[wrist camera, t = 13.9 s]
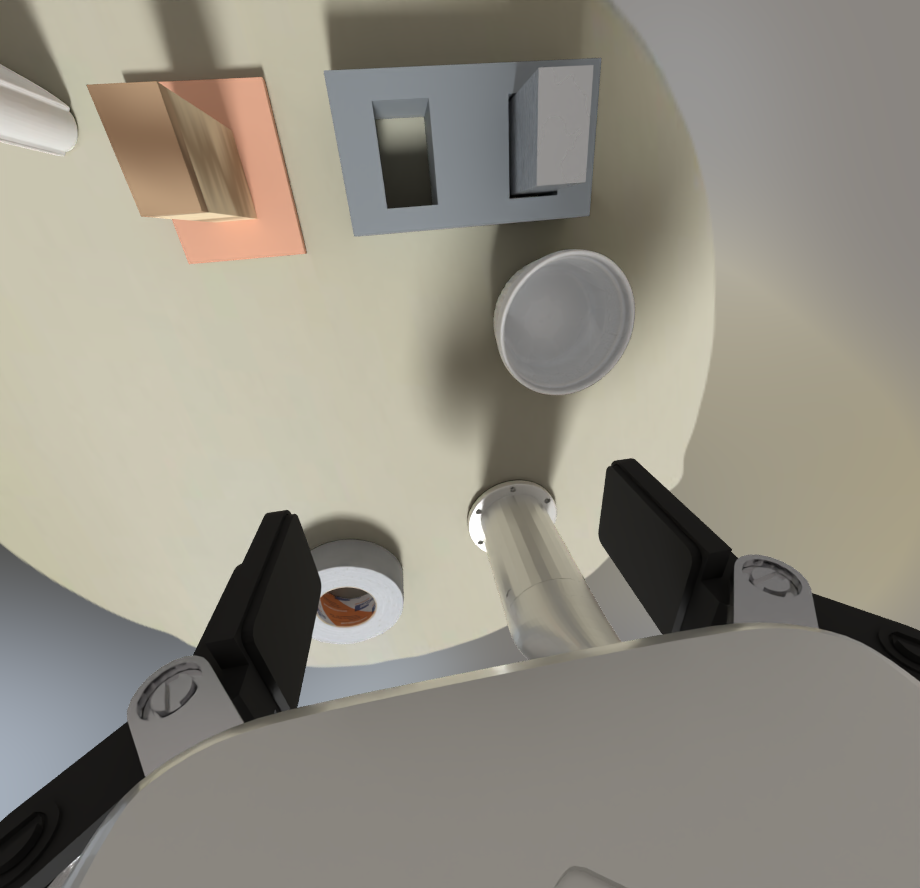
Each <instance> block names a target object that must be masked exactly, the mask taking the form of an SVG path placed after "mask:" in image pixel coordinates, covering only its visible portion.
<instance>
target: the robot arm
mask: <svg viewBox="0 0 920 888" xmlns="http://www.w3.org/2000/svg"><path fill="white" fill-rule="evenodd" d="M556 517H557V508H556V505H555V502H554V500H553V498H552V496H551V495H550V494H549V492H548V491H547V490H546V489H544V488H543V487H542V486H540V485H538V484H536V483H533V482H529V481H521V480H516V481H508V482H505V483H501V484H498V485H496V486H494V487H492V488H490V489H489V490H487V491H486V492H484V493H483V494H482V495H481V496H480V497H479V498H478V499H477V500H476V501H475V503H474V504H473V506H472V508H471V510H470V512H469V516H468V529H469V533H470V536H471V539H472V540H473V542H474V543H475V544H476V545H477V546H478V547H479V548H480V549H482V550H484V551H485V552H487V555H488V559H489V562H490V566H491V569H492V572H493V576H494V579H495V583H496V586H497V590H498V593H499V596H500V600H501V603H502V607H503V610H504V613H505V617H506V620H507V624H508V627H509V630H510V634H511V636H512V639H513V641H514V642H515V644H516V646H517V647H518V649H519V650H520V651H521V653H522V654H523V655H524V656H525V657H526V658H527V659H528V660H527V661H522V662H517V663H513V664H507V665H502V666H497V667H492V668H487V669H482V670H477V671H472V672H467V673H462V674H456V675H452V676H447V677H442V678H437V679H432V680H427V681H422V682H417V683H412V684H407V685H402V686H398V687H393V688H388V689H383V690H378V691H373V692H368V693H363V694H358V695H354V696H349V697H344V698H340V699H335V700H331V701H326V702H322V703H317V704H313V705H308V706H303V707H299V708H297V706H298V702H299V696H300V692H301V687H302V682H303V677H304V673H305V668H306V663H307V658H308V653H309V649H310V644H311V639H312V634H313V629H314V624H315V620H316V615H317V610H318V605H319V600H320V595H321V579H320V576H319V574H318V571H317V568H316V565H315V562H314V560H313V557H312V554H311V551H310V549H309V546H308V543H307V540H306V537H305V535H304V532H303V529H302V526H301V523H300V521H299V518H298V516H297V515H296V514H291V513H290V511H288V510H284V511H277V512H271V513H267V514H265V516H264V518H263V520H262V522H261V524H260V526H259V528H258V531H257V533H256V535H255V537H254V539H253V541H252V543H251V546H250V548H249V550H248V552H247V554H246V556H245V558H244V561H243V563H242V564H240V565H238V566H237V567H236V568H235V570H234V571H233V574H232V576H231V578H230V580H229V582H228V584H227V586H226V588H225V590H224V592H223V594H222V596H221V598H220V600H219V603H218V605H217V607H216V609H215V611H214V613H213V615H212V617H211V619H210V621H209V623H208V625H207V627H206V630H205V632H204V634H203V636H202V638H201V640H200V642H199V644H198V646H197V648H196V650H195V652H194V654H193V656H185V657H182V658H179V659H176V660H174V661H171V662H170V663H168V664H167V665H164V666H163V667H161V668H160V669H158V670H157V671H156V672H154V673H153V674H152V675H151V676H149V677H148V678H147V679H146V681H145V682H144V683H143V684H142V685H141V686H140V687H139V688H138V690H137V691H136V693H135V694H134V696H133V697H132V699H131V702H130V704H129V707H128V710H127V720H128V722H126V723H125V724H124V725H123V726H121V727H120V728H119V729H117V730H116V731H115V732H113V733H112V734H111V735H110V736H108V737H107V738H106V739H105V740H103V741H102V742H101V743H99V744H98V745H97V746H96V747H94V748H93V749H92V750H90V751H89V752H88V753H87V754H85V755H84V756H83V757H81V758H80V759H79V760H78V761H76V762H75V763H74V764H73V765H71V766H70V767H69V768H67V769H66V770H65V771H63V772H62V773H61V774H60V775H58V776H57V777H56V778H55V779H53V780H52V781H51V782H50V783H48V784H47V785H46V786H44V787H43V788H42V789H40V790H39V791H38V792H37V793H35V794H34V795H33V796H32V797H30V798H29V799H28V800H26V801H25V802H24V803H22V804H21V805H20V806H19V807H17V808H16V809H15V810H14V811H12V812H11V813H10V814H9V815H8V816H7V817H5V818H4V819H3V820H2V821H1V822H0V888H920V631H919V630H917V629H914V628H912V627H909V626H906V625H904V624H901V623H898V622H895V621H892V620H889V619H886V618H883V617H881V616H878V615H875V614H872V613H868V612H866V611H863V610H860V609H857V608H854V607H851V606H848V605H845V604H843V603H840V602H837V601H834V600H831V599H828V598H825V597H822V596H819V595H816V594H813V593H812V592H811V588H810V586H809V583H808V581H807V580H806V579H805V578H804V577H803V576H802V575H801V574H800V573H799V572H798V571H797V570H795V569H794V568H793V567H791V566H789V565H787V564H785V563H784V562H782V561H779V560H776V559H774V558H771V557H767V556H762V555H746V556H742V557H740V558H739V559H738V558H737V557H736V556H735V555H734V554H733V553H732V552H731V551H732V549H731V548H730V547H729V546H728V545H727V544H726V543H725V542H724V541H723V540H721V539H720V538H719V537H718V536H717V535H716V534H715V533H714V532H713V531H712V530H711V529H710V528H709V527H707V526H706V525H705V524H704V523H703V522H702V521H701V520H700V519H699V518H698V517H697V516H696V515H694V514H693V513H692V512H691V511H690V510H689V509H688V508H687V507H686V506H685V505H683V503H682V502H680V501H679V500H678V499H677V498H676V497H675V496H674V495H673V494H672V493H671V492H670V491H669V490H667V489H666V488H665V487H664V486H663V485H662V484H661V483H660V482H659V481H658V480H657V479H656V478H654V477H653V476H652V475H651V474H650V473H649V472H648V471H647V470H646V469H645V468H644V467H643V466H642V465H640V464H639V463H638V462H637V461H636V460H635V459H632V458H630V459H623V460H617V461H614V462H613V463H612V464H611V466H609V467H608V468H607V470H606V478H605V485H604V493H603V501H602V509H601V516H600V524H599V533H598V534H599V539H600V542H601V544H602V546H603V547H604V549H605V550H606V552H607V553H608V555H609V556H610V558H611V559H612V560H613V562H614V563H615V565H616V566H617V568H618V569H619V570H620V572H621V574H622V575H623V577H624V578H625V580H626V581H627V583H628V584H629V586H630V587H631V588H632V590H633V592H634V593H635V595H636V596H637V598H638V599H639V601H640V602H641V603H642V605H643V606H644V608H645V609H646V611H647V612H648V614H649V615H650V617H651V618H652V620H653V621H654V623H655V624H656V626H657V627H658V629H659V630H660V632H661V633H662V634H663V635H657V636H652V637H647V638H642V639H636V640H632V641H626V642H621V640H620V639H619V637H618V636H617V634H616V632H615V631H614V629H613V628H612V626H611V625H610V623H609V622H608V620H607V618H606V616H605V614H604V613H603V611H602V610H601V608H600V606H599V604H598V602H597V601H596V599H595V597H594V595H593V594H592V592H591V590H590V588H589V586H588V585H587V583H586V581H585V579H584V577H583V575H582V574H581V572H580V570H579V568H578V566H577V565H576V563H575V561H574V559H573V557H572V556H571V554H570V552H569V550H568V548H567V547H566V545H565V543H564V541H563V539H562V538H561V536H560V534H559V532H558V530H557V529H556V527H555V525H554V524H555V522H556Z"/></svg>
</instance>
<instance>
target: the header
mask: <svg viewBox="0 0 920 888" xmlns="http://www.w3.org/2000/svg"><path fill="white" fill-rule="evenodd" d="M583 65H594V66H593V81H592V96H591V110H590V125H589V140H588V154H587V169H586V182H584V183H581V184H577V185H574V186H570V187H567V188H563V189H560V190H556V191H553V192H549V193H546V194H542V195H539V196H538V197H528V198H516V199H509V120H508V103H509V102H510V101H511V99H512V98H513V97H514V96H515V95H516V94H517V92H518V91H519V90H520V89H521V88H522V87H523V85H524V84H525V83H526V82H527V81H528V80H529V78H530V77H531V76H532V75H533V74H534V72H535V71H536V70H537V69H538V68H541V67H562V66H583ZM600 70H601V58H589V59H567V60H545V61H524V62H502V63H480V64H459V65H437V66H415V67H394V68H372V69H350V70H329V71H324V75H325V81H326V86H327V92H328V97H329V102H330V108H331V113H332V119H333V124H334V129H335V135H336V140H337V146H338V151H339V157H340V162H341V167H342V173H343V178H344V184H345V189H346V194H347V200H348V205H349V211H350V216H351V221H352V227H353V232H354V236H369V235H380V234H392V233H403V232H415V231H426V230H438V229H450V228H461V227H473V226H484V225H496V224H507V223H519V222H530V221H542V220H554V219H565V218H575V217H584V216H590V203H591V190H592V176H593V163H594V150H595V136H596V123H597V110H598V97H599V83H600ZM408 117H424V121H425V131H426V142H427V152H428V163H429V173H430V184H431V195H432V205H429V206H416V207H404V208H391V209H388V208H387V201H386V194H385V187H384V180H383V173H382V166H381V159H380V152H379V145H378V138H377V131H376V124H375V119H391V118H408Z"/></svg>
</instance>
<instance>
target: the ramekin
mask: <svg viewBox="0 0 920 888" xmlns="http://www.w3.org/2000/svg"><path fill="white" fill-rule="evenodd" d="M634 319H635V303H634V296H633V292H632V289H631V286H630V284H629V281H628V279H627V277H626V276H625V274H624V273H623V271H622V270H621V269H620V268H619V266H618V265H617V264H616V263H614V262H613V261H612V260H611V259H609V258H608V257H606V256H604V255H602V254H600V253H597V252H594V251H589V250H582V249H568V250H562V251H557V252H554V253H551V254H549V255H546V256H544V257H542V258H540V259H538V260H536V261H533V262H531V263H530V264H529V265H526V266H524V267H523V268H522V269H521V270H518V271H517V272H516V274H515V275H513V276H512V277H511V278H510V280H509V281H508V282H507V283H506V285H505V287H504V288H503V290H502V292H501V294H500V296H499V297H498V301H497V303H496V308H495V311H494V319H493V321H494V331H495V332H494V334H495V338H496V342H497V345H498V350H499V353H500V356H501V359H502V361H503V363H504V365H505V367H506V368H507V370H508V371H509V372H510V374H511V375H512V376H513V377H514V378H515V379H516V380H517V381H518V382H519V383H521V384H522V385H523V386H525V387H527V388H528V389H530V390H532V391H535V392H538V393H541V394H547V395H566V394H571V393H575V392H578V391H581V390H583V389H585V388H587V387H589V386H591V385H593V384H595V383H596V382H598V381H599V380H600V379H602V378H603V377H604V376H605V375H606V374H607V373H609V372H610V371H611V370H612V368H613V367H614V366H615V365H616V364H617V362H618V361H619V359H620V358H621V357H622V355H623V353H624V351H625V349H626V347H627V345H628V343H629V340H630V338H631V334H632V331H633V326H634Z"/></svg>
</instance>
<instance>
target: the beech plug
mask: <svg viewBox="0 0 920 888" xmlns="http://www.w3.org/2000/svg"><path fill="white" fill-rule="evenodd" d="M87 87H88V90H89V92H90V95H91V97H92V99H93V102H94V104H95V107H96V109H97V111H98V114H99V116H100V119H101V121H102V123H103V126H104V128H105V131H106V133H107V135H108V138H109V140H110V143H111V145H112V147H113V150H114V152H115V155H116V157H117V159H118V162H119V164H120V167H121V169H122V171H123V174H124V176H125V179H126V181H127V183H128V186H129V188H130V191H131V193H132V195H133V198H134V200H135V203H136V205H137V207H138V210H139V212H140V215H141V217H154V218H166V219H179V220H191V221H203V222H226V221H238V220H250V219H258V218H257V215H256V211H255V208H254V204H253V201H252V197H251V194H250V191H249V187H248V184H247V180H246V177H245V173H244V170H243V166H242V163H241V160H240V156H239V153H238V149H237V146H236V142H235V139H234V136H233V132H232V130H230V129H229V128H227V127H226V126H224V125H223V124H221V123H220V122H218V121H217V120H215V119H214V118H212V117H210V116H209V115H207V114H206V113H204V112H203V111H201V110H200V109H198V108H197V107H195V106H194V105H192V104H191V103H189V102H188V101H186V100H184V99H183V98H181V97H180V96H178V95H177V94H175V93H174V92H172V91H171V90H169V89H168V88H166V87H165V86H163V85H162V84H160V83H159V82H157V81H151V82H132V83H113V84H93V85H87Z"/></svg>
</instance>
